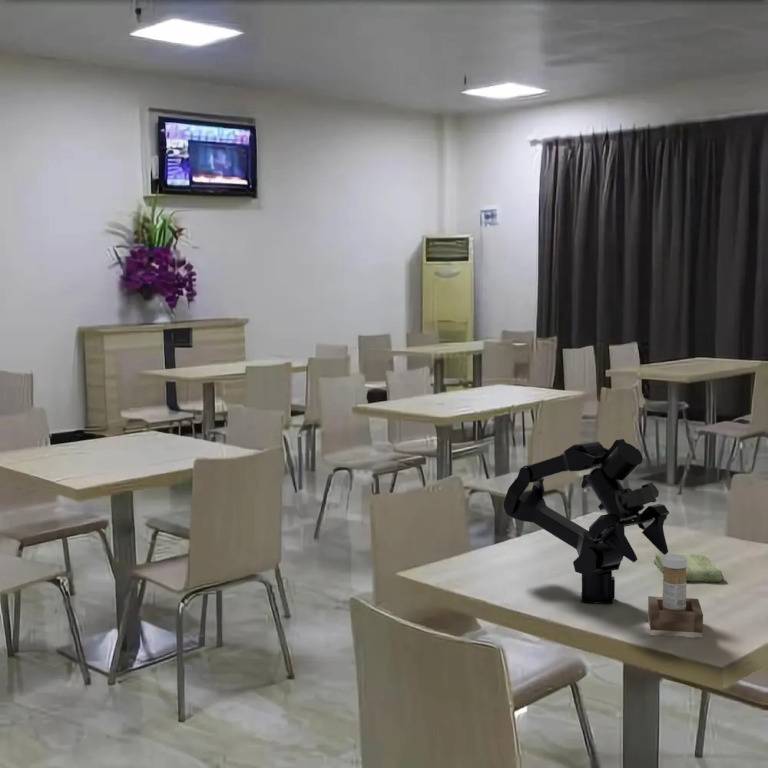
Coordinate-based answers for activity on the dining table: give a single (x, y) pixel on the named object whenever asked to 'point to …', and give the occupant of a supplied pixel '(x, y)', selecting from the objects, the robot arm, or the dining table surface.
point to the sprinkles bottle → (674, 582)
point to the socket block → (675, 619)
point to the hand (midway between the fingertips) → (651, 557)
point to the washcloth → (696, 568)
